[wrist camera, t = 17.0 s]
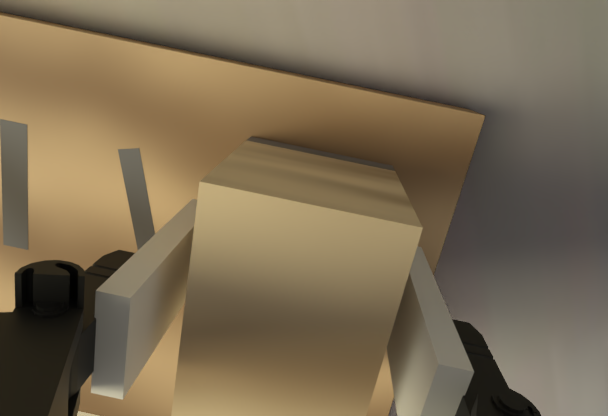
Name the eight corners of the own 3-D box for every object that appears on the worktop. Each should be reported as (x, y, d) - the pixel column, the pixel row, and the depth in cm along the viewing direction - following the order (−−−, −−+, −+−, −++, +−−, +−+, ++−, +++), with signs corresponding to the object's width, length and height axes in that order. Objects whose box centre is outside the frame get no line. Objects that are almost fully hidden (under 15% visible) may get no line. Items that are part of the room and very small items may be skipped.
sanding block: (250, 136, 16) (199, 181, 10) (392, 165, 16) (422, 227, 10) (220, 330, 18) (166, 454, 12) (342, 356, 18) (343, 491, 12)
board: (-158, -21, 17) (-221, -31, 15) (469, 109, 17) (485, 115, 15) (-112, 334, 22) (-155, 360, 20) (366, 438, 22) (369, 474, 20)
